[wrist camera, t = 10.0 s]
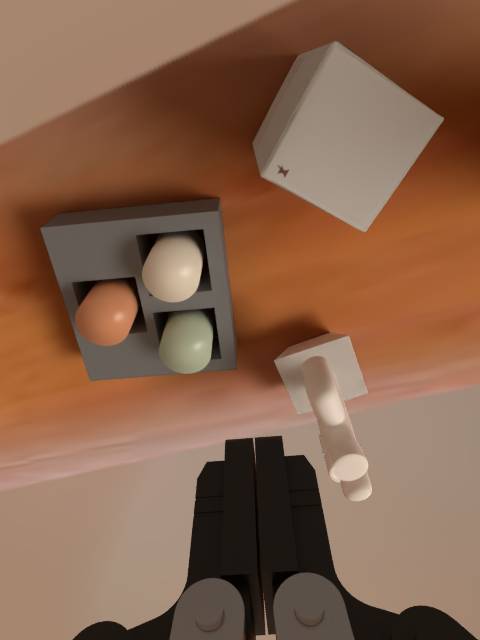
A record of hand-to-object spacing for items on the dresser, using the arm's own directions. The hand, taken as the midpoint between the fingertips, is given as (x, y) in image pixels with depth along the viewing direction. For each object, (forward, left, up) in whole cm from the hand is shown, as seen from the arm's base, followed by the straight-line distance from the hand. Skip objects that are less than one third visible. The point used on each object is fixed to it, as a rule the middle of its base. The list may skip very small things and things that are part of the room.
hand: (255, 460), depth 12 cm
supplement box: (-6, -5, -29) cm, 30 cm away
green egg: (+6, +11, -28) cm, 31 cm away
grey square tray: (+9, +8, -29) cm, 31 cm away
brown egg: (+12, +8, -28) cm, 32 cm away
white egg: (+6, +4, -28) cm, 29 cm away
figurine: (-6, +17, -29) cm, 34 cm away
